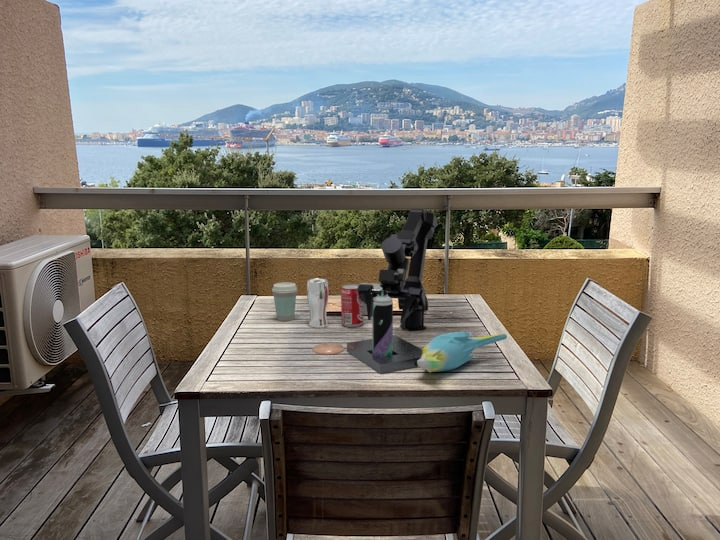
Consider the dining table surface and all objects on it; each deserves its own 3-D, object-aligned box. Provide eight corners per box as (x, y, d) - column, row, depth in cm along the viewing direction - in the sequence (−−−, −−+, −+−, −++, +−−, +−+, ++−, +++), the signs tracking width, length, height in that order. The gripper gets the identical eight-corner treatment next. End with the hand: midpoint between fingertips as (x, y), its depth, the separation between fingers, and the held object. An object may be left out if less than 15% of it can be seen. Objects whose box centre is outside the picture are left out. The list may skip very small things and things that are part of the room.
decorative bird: (397, 375, 158) (397, 340, 156) (464, 346, 179) (465, 316, 177) (440, 389, 148) (441, 353, 146) (506, 358, 169) (507, 325, 168)
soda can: (360, 328, 197) (360, 289, 195) (339, 327, 199) (338, 288, 196) (365, 322, 204) (365, 284, 202) (344, 321, 206) (343, 283, 203)
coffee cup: (303, 317, 210) (302, 283, 208) (287, 323, 203) (286, 288, 201) (283, 314, 215) (282, 280, 212) (267, 320, 208) (266, 285, 205)
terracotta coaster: (336, 342, 183) (336, 341, 183) (349, 351, 175) (349, 350, 175) (308, 347, 179) (308, 345, 179) (320, 356, 171) (320, 355, 171)
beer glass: (332, 323, 204) (331, 279, 201) (324, 328, 197) (323, 283, 194) (312, 321, 206) (311, 277, 203) (304, 327, 199) (303, 282, 196)
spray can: (378, 366, 164) (378, 293, 160) (368, 359, 168) (368, 289, 164) (396, 362, 166) (396, 291, 162) (386, 356, 171) (386, 286, 167)
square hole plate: (395, 343, 183) (395, 335, 182) (432, 363, 165) (432, 355, 165) (346, 351, 176) (346, 342, 175) (380, 373, 158) (380, 364, 158)
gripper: (358, 255, 172) (345, 303, 164) (423, 259, 166) (413, 308, 158) (367, 277, 181) (355, 323, 173) (429, 282, 175) (420, 329, 167)
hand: (384, 321), depth 167 cm, fingers open, 9 cm apart
